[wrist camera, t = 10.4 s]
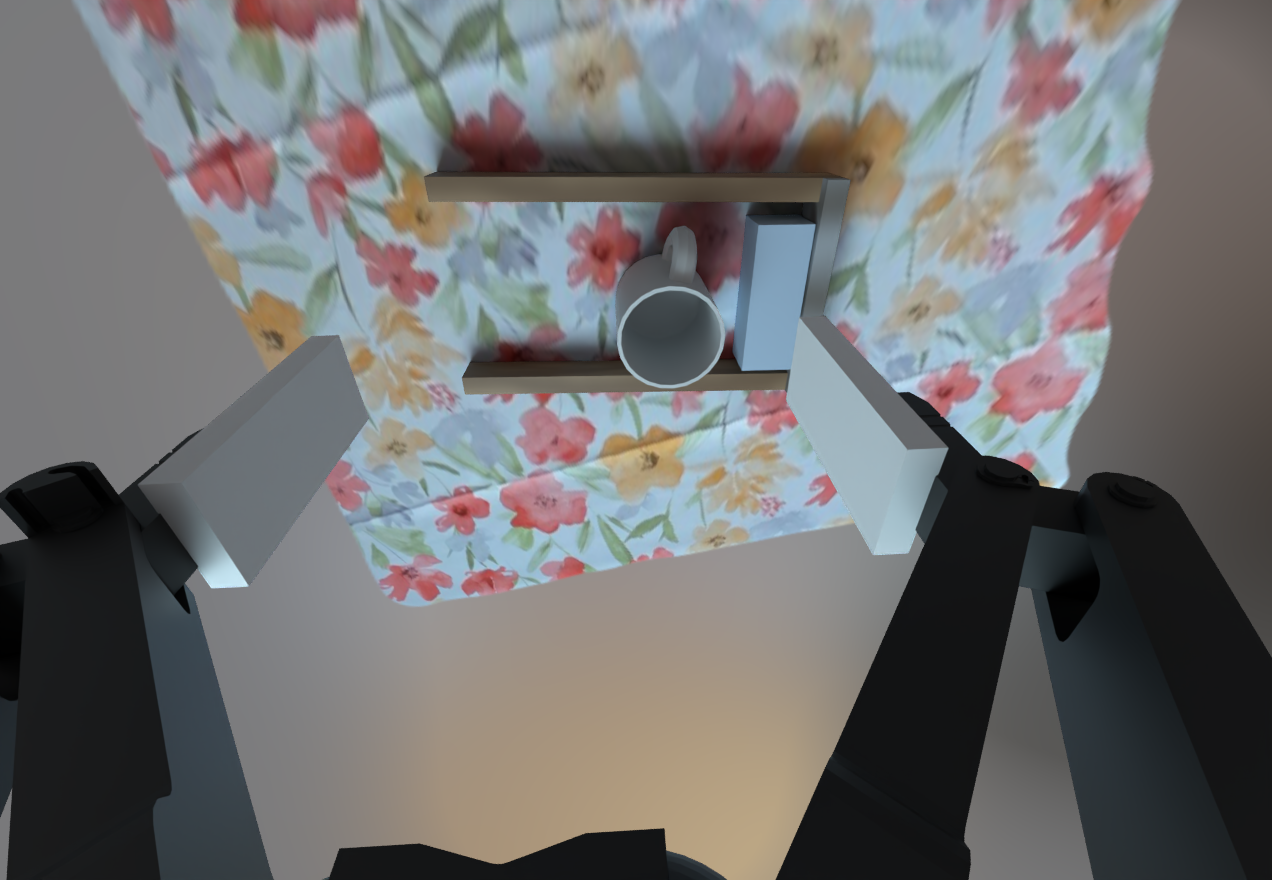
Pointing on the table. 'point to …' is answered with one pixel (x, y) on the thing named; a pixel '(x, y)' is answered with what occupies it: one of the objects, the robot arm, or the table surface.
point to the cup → (668, 317)
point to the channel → (814, 189)
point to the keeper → (771, 290)
